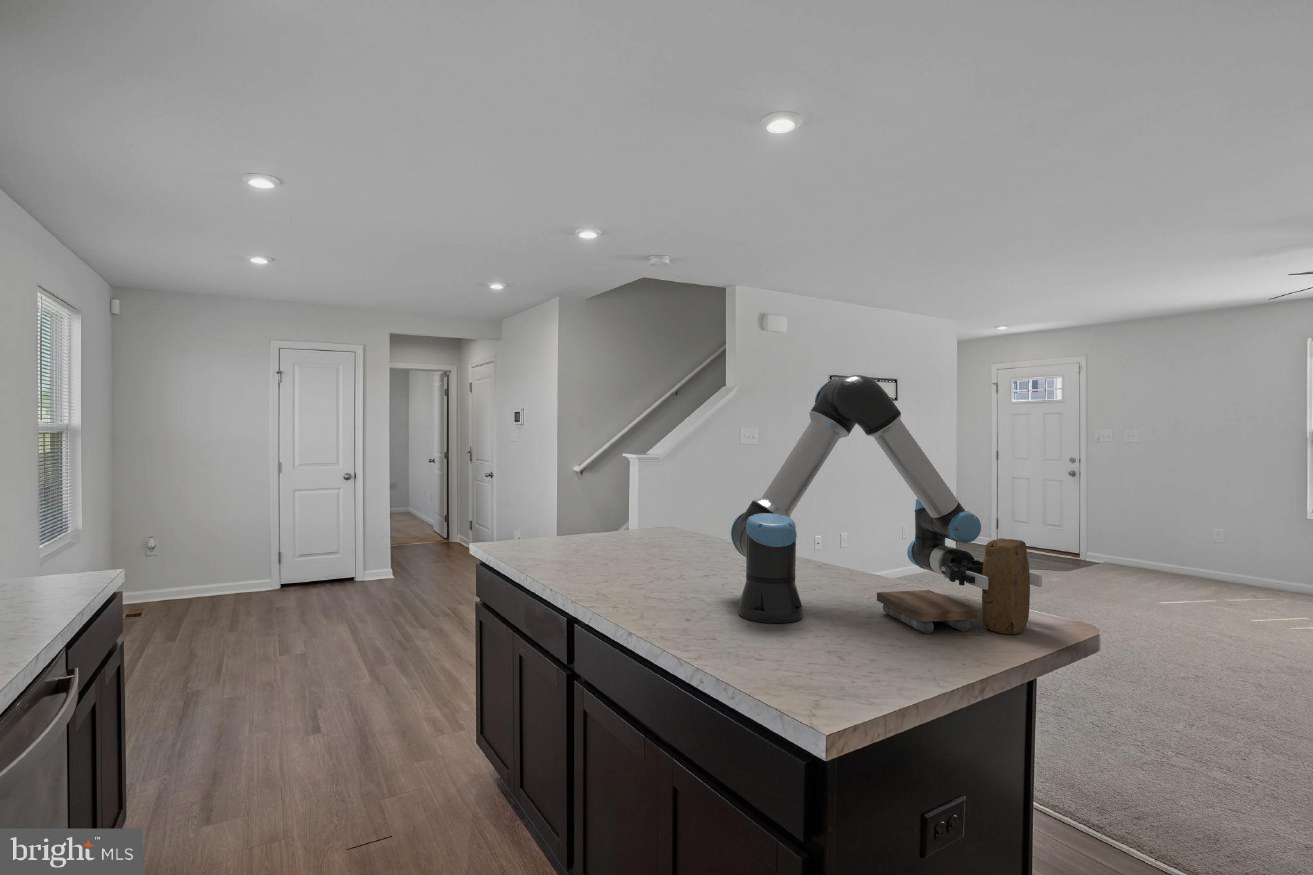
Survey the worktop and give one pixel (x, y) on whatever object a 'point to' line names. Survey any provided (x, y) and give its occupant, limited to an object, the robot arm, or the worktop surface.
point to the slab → (926, 609)
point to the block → (1006, 586)
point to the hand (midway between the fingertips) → (1014, 582)
